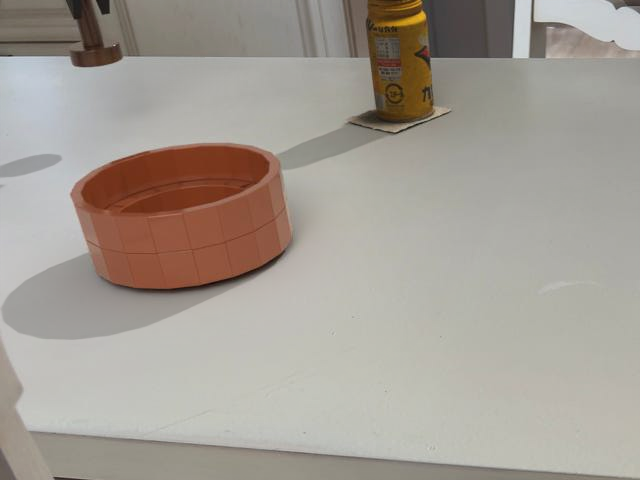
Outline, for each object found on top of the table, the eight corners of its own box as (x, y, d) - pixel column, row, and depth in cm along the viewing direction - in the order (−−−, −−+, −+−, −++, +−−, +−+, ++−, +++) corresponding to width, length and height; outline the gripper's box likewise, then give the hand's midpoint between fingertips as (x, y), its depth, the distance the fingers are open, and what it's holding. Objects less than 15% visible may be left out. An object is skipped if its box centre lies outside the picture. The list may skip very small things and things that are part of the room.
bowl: (58, 293, 76) (30, 215, 73) (148, 213, 88) (128, 142, 84) (252, 299, 74) (234, 218, 70) (319, 215, 85) (306, 142, 81)
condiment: (452, 111, 105) (442, -20, 97) (395, 134, 100) (379, -2, 93) (402, 101, 109) (388, -26, 101) (344, 123, 104) (326, -9, 97)
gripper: (75, -190, 102) (167, 19, 102) (-83, -174, 97) (14, 47, 96) (71, -258, 95) (170, -34, 95) (-99, -246, 90) (5, -8, 89)
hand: (91, 6), depth 96 cm, fingers closed on stick, 2 cm apart
